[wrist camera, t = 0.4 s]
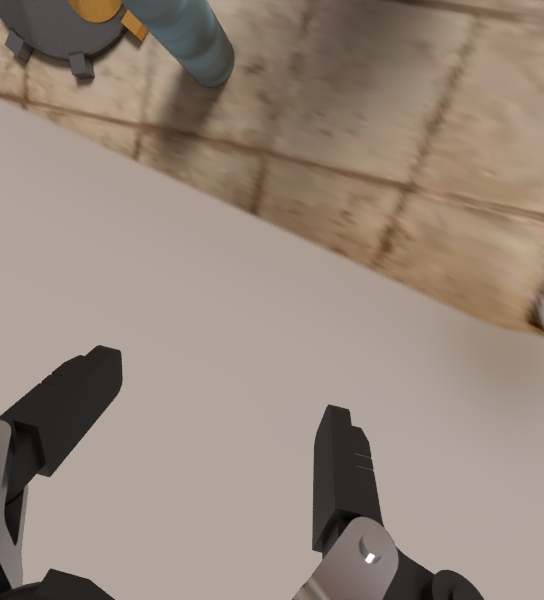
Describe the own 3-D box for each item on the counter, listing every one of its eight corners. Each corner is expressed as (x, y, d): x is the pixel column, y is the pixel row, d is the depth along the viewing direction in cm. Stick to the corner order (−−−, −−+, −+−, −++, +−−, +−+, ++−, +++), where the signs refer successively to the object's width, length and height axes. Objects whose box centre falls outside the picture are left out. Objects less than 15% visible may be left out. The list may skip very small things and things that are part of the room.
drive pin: (194, 24, 31) (117, -88, 20) (240, 38, 31) (188, -68, 19) (184, 79, 32) (106, 5, 21) (226, 93, 32) (171, 25, 21)
